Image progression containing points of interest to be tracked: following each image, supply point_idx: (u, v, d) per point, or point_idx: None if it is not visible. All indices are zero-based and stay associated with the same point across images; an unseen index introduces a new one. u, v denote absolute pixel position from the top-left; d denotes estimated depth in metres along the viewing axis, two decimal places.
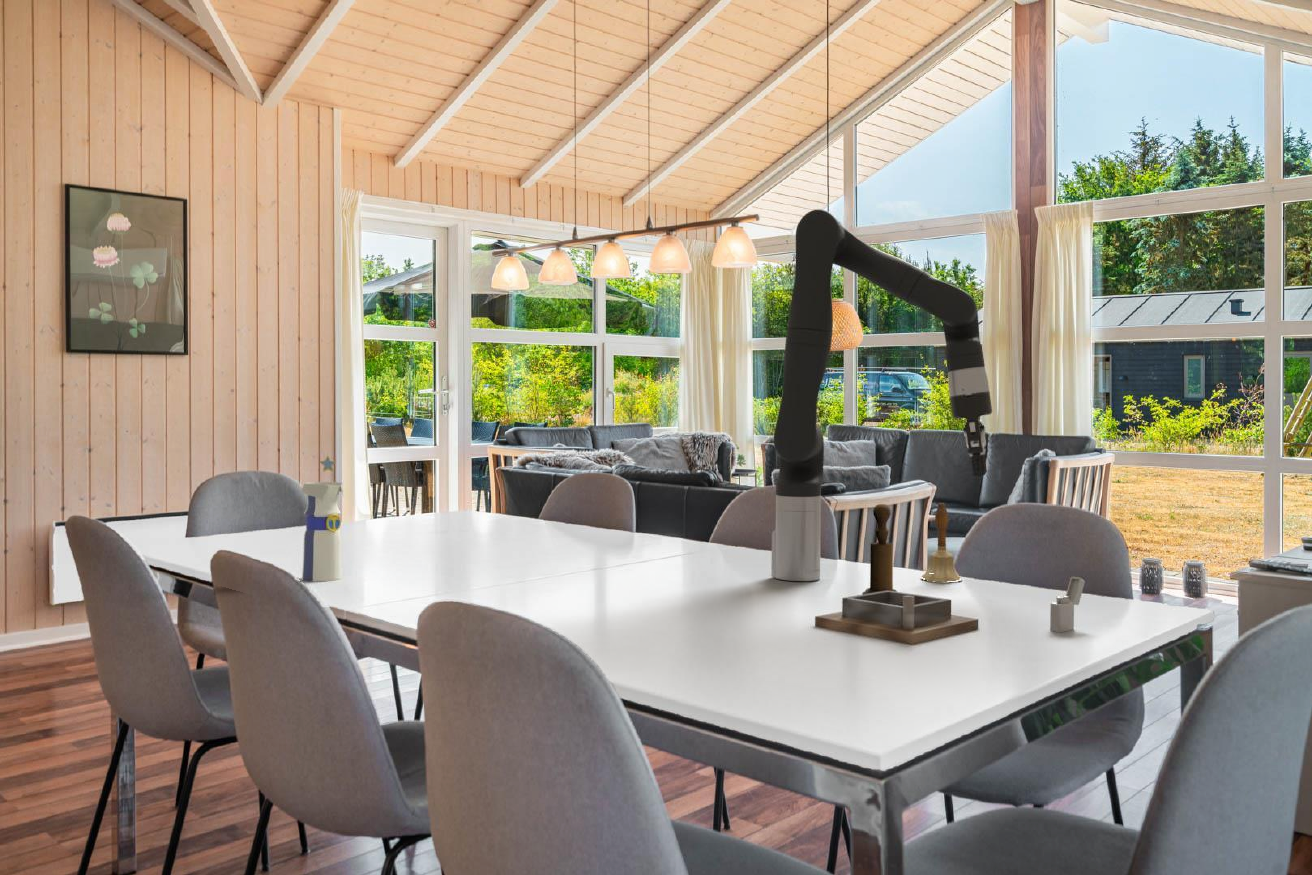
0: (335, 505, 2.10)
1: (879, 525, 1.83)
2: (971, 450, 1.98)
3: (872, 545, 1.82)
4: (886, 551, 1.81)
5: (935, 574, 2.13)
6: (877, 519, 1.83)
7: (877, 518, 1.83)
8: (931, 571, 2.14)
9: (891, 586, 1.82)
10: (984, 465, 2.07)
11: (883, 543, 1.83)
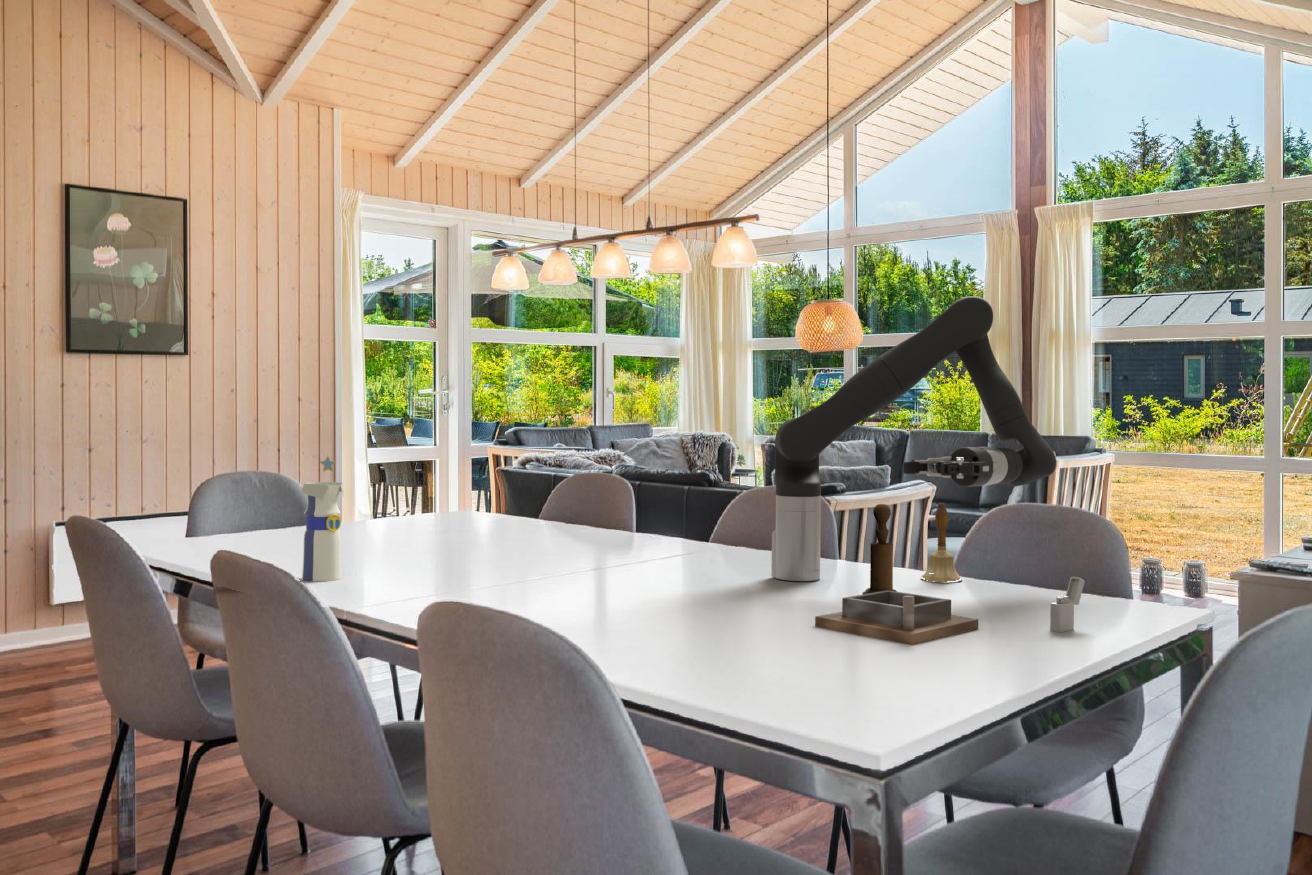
0: (335, 505, 2.10)
1: (879, 525, 1.83)
2: (972, 465, 1.87)
3: (872, 545, 1.82)
4: (886, 551, 1.81)
5: (935, 574, 2.13)
6: (877, 519, 1.83)
7: (877, 518, 1.83)
8: (931, 571, 2.14)
9: (891, 586, 1.82)
10: (911, 472, 1.94)
11: (883, 543, 1.83)
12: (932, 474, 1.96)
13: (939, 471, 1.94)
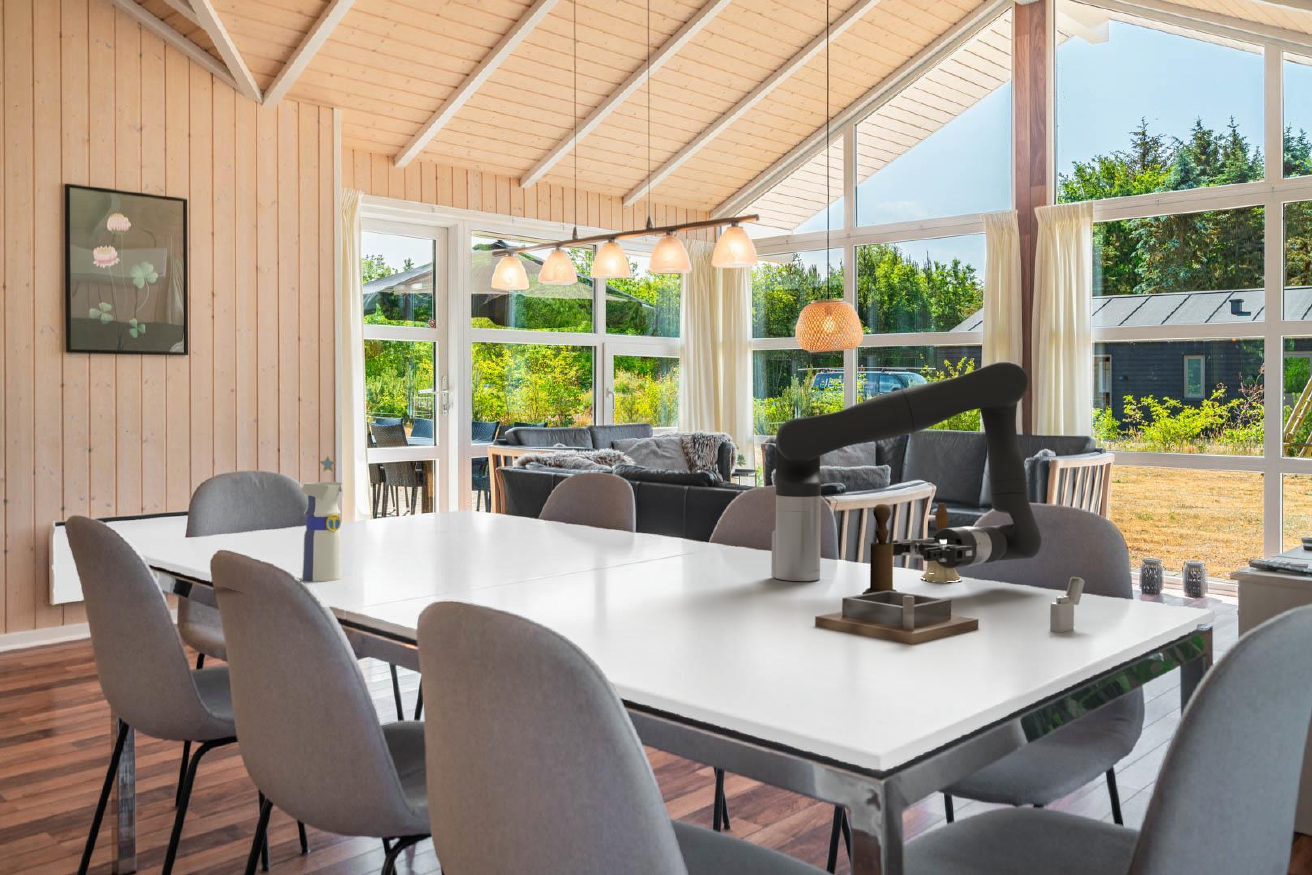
0: (335, 505, 2.10)
1: (879, 525, 1.83)
2: (954, 550, 1.85)
3: (872, 545, 1.82)
4: (886, 551, 1.81)
5: (935, 574, 2.13)
6: (877, 519, 1.83)
7: (877, 518, 1.83)
8: (931, 571, 2.14)
9: (891, 586, 1.82)
10: (894, 554, 1.91)
11: (883, 543, 1.83)
12: (915, 556, 1.93)
13: (922, 553, 1.92)
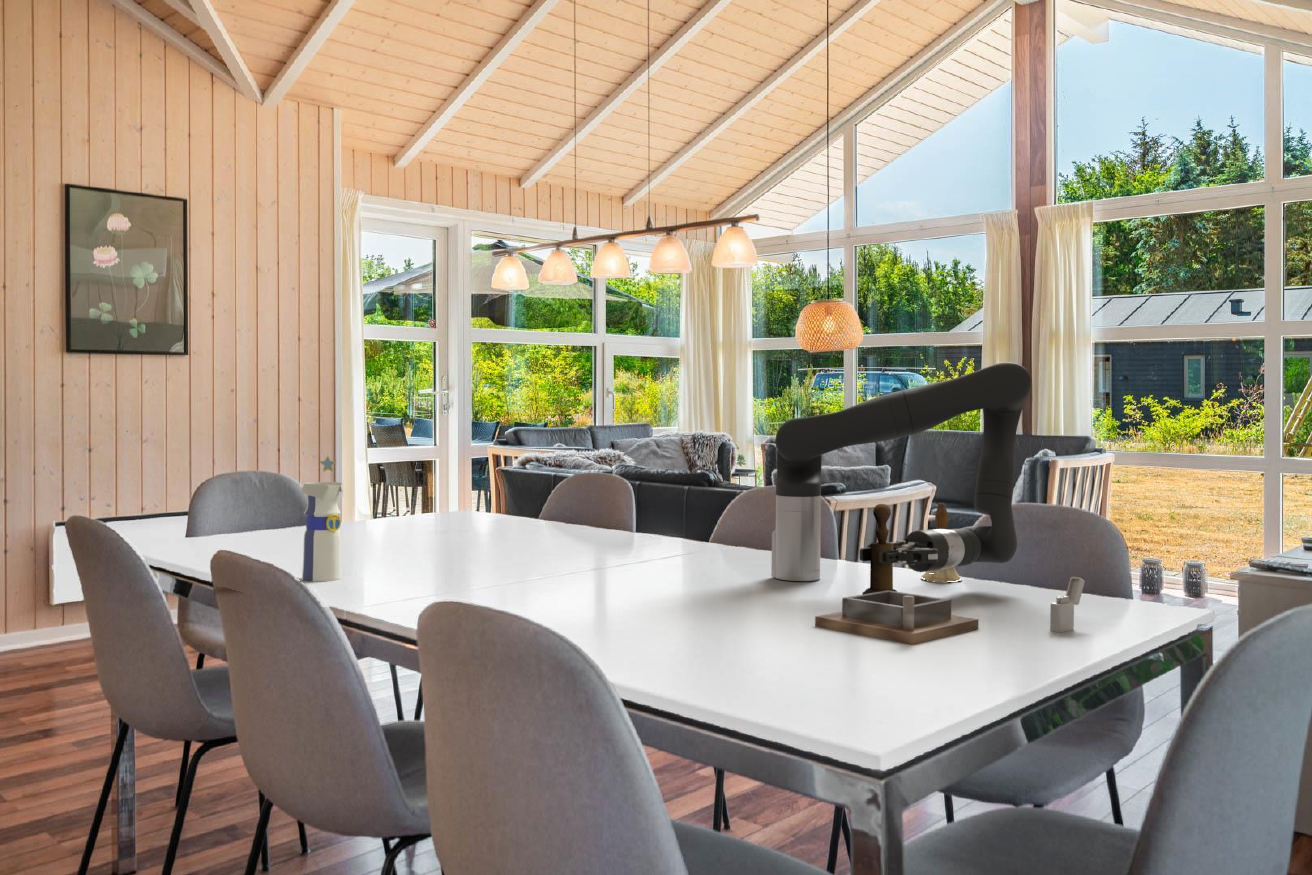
0: (335, 505, 2.10)
1: (879, 525, 1.83)
2: (911, 552, 1.81)
3: (872, 545, 1.82)
4: None
5: (935, 574, 2.13)
6: (877, 519, 1.83)
7: (877, 518, 1.83)
8: (931, 571, 2.14)
9: (891, 586, 1.82)
10: (868, 559, 1.84)
11: (883, 543, 1.83)
12: None
13: None
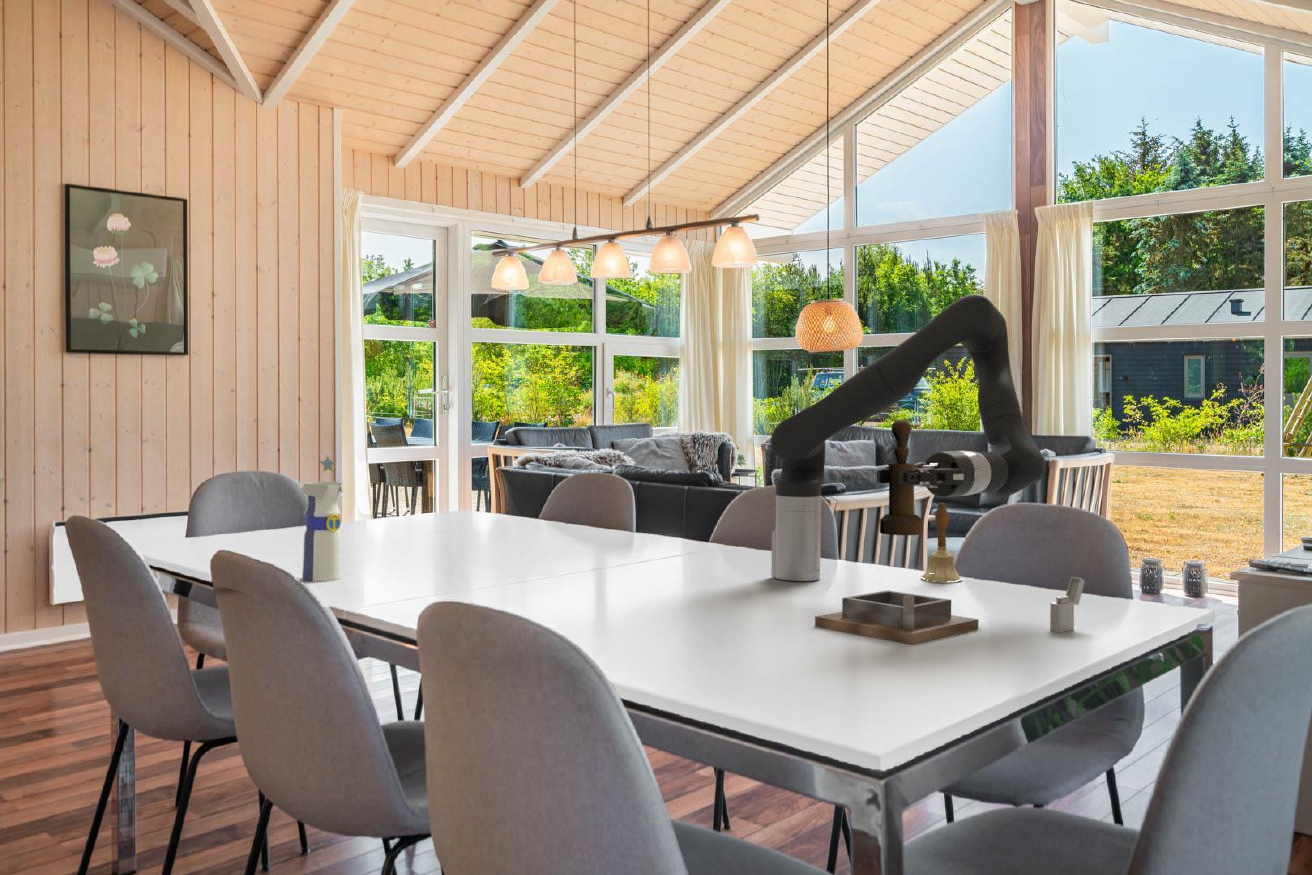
0: (335, 505, 2.10)
1: (898, 443, 1.64)
2: (935, 472, 1.62)
3: (891, 465, 1.64)
4: None
5: (935, 574, 2.13)
6: (896, 436, 1.64)
7: (896, 435, 1.64)
8: (931, 571, 2.14)
9: (912, 510, 1.63)
10: (886, 481, 1.65)
11: (903, 463, 1.64)
12: None
13: None
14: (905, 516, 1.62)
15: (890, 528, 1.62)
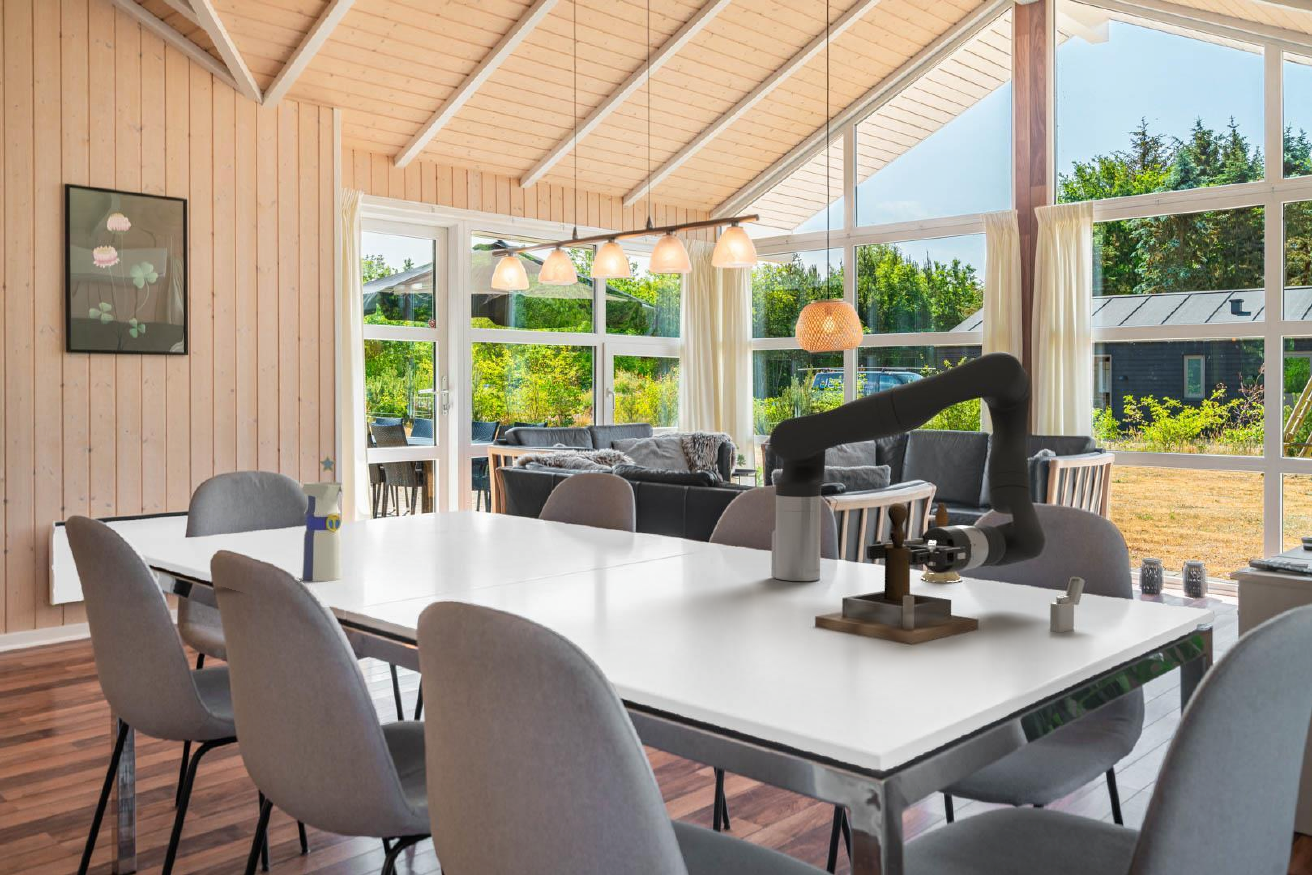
0: (335, 505, 2.10)
1: (895, 527, 1.64)
2: (944, 552, 1.61)
3: (887, 549, 1.64)
4: (903, 556, 1.63)
5: (935, 574, 2.13)
6: (892, 520, 1.64)
7: (892, 519, 1.64)
8: (931, 571, 2.14)
9: (908, 595, 1.63)
10: (876, 557, 1.67)
11: (899, 547, 1.64)
12: None
13: None
14: (900, 601, 1.62)
15: None
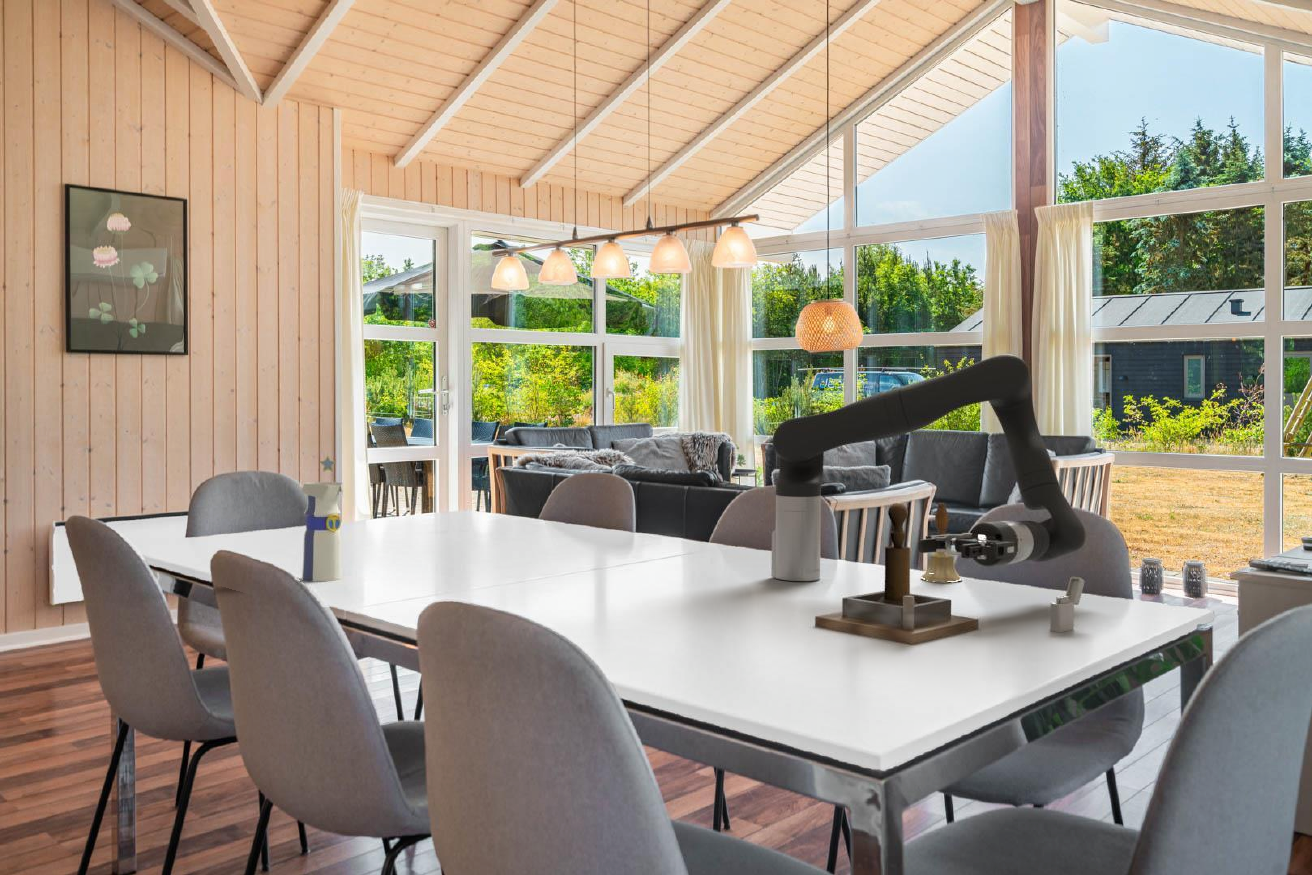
0: (335, 505, 2.10)
1: (895, 527, 1.64)
2: (995, 546, 1.69)
3: (887, 549, 1.64)
4: (903, 556, 1.63)
5: (935, 574, 2.13)
6: (892, 520, 1.64)
7: (892, 519, 1.64)
8: (931, 571, 2.14)
9: (908, 595, 1.63)
10: (928, 550, 1.75)
11: (899, 547, 1.64)
12: (950, 552, 1.77)
13: (958, 550, 1.76)
14: (900, 601, 1.62)
15: None
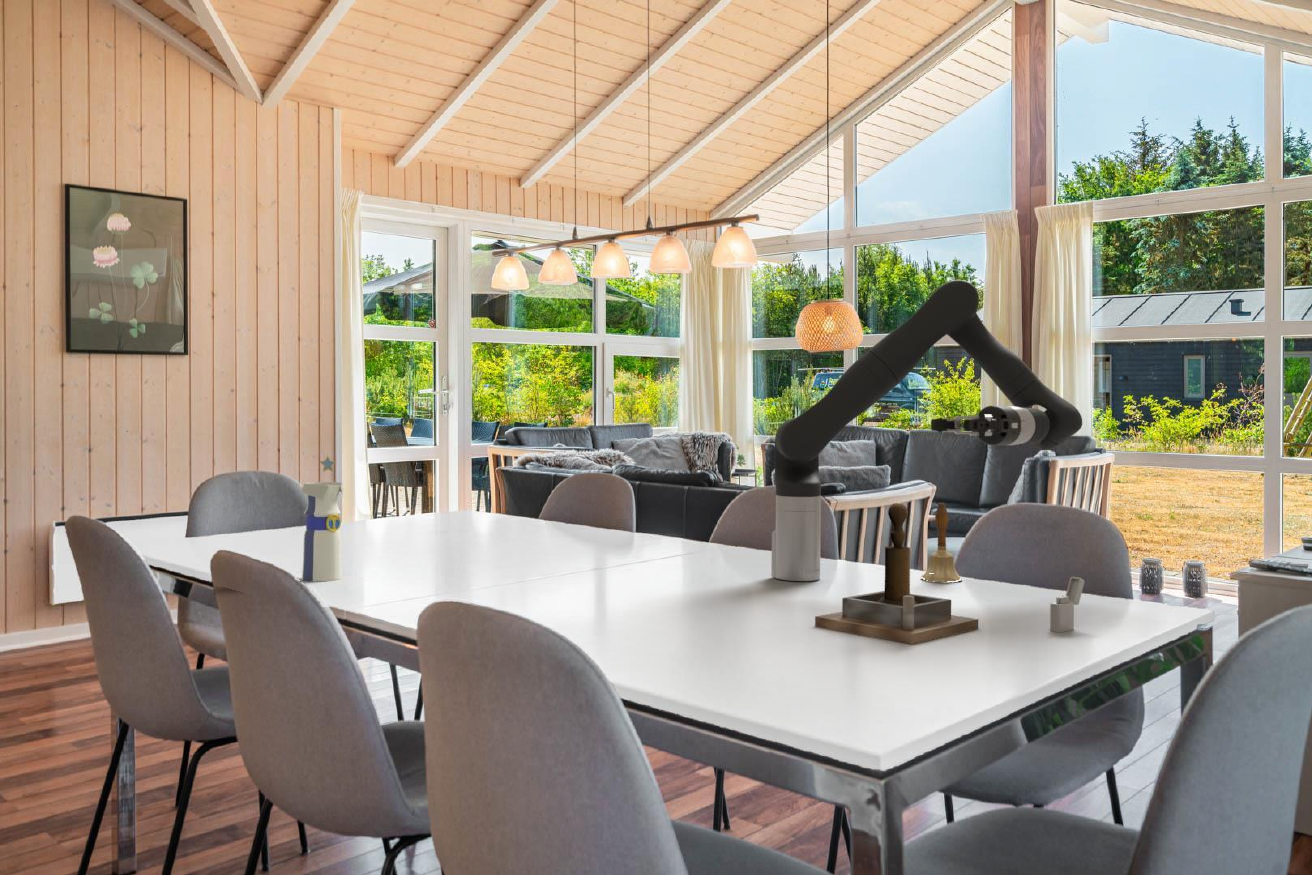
0: (335, 505, 2.10)
1: (895, 527, 1.64)
2: (1001, 421, 1.86)
3: (887, 549, 1.64)
4: (903, 556, 1.63)
5: (935, 574, 2.13)
6: (892, 520, 1.64)
7: (892, 519, 1.64)
8: (931, 571, 2.14)
9: (908, 595, 1.63)
10: (939, 429, 1.93)
11: (899, 547, 1.64)
12: (960, 432, 1.95)
13: (967, 429, 1.93)
14: (900, 601, 1.62)
15: None
